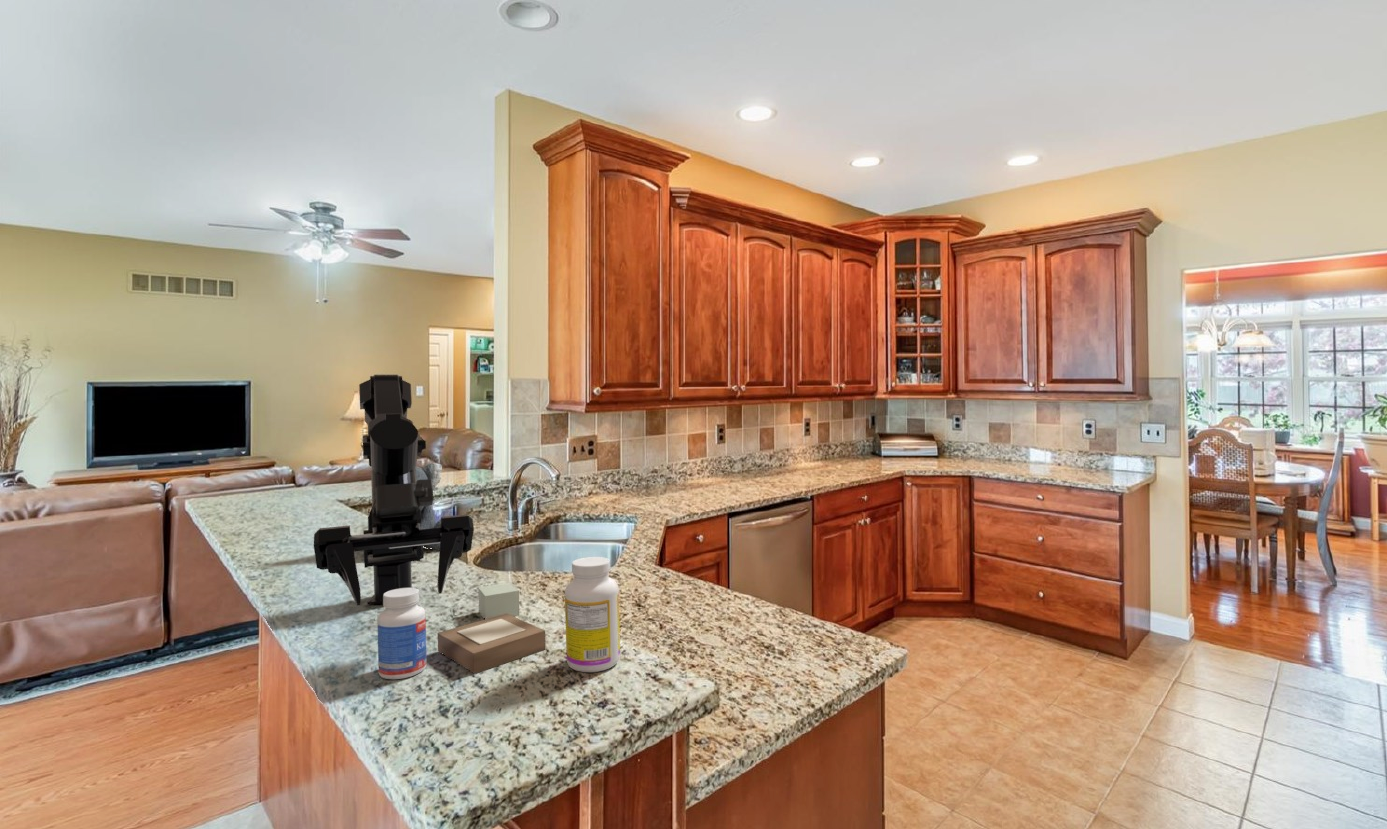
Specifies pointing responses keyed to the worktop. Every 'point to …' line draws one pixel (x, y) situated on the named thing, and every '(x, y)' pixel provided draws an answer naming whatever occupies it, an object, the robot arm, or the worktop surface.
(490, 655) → the plinth
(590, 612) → the supplement bottle
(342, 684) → the worktop surface
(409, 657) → the pill bottle
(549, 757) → the worktop surface
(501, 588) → the block
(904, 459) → the worktop surface
